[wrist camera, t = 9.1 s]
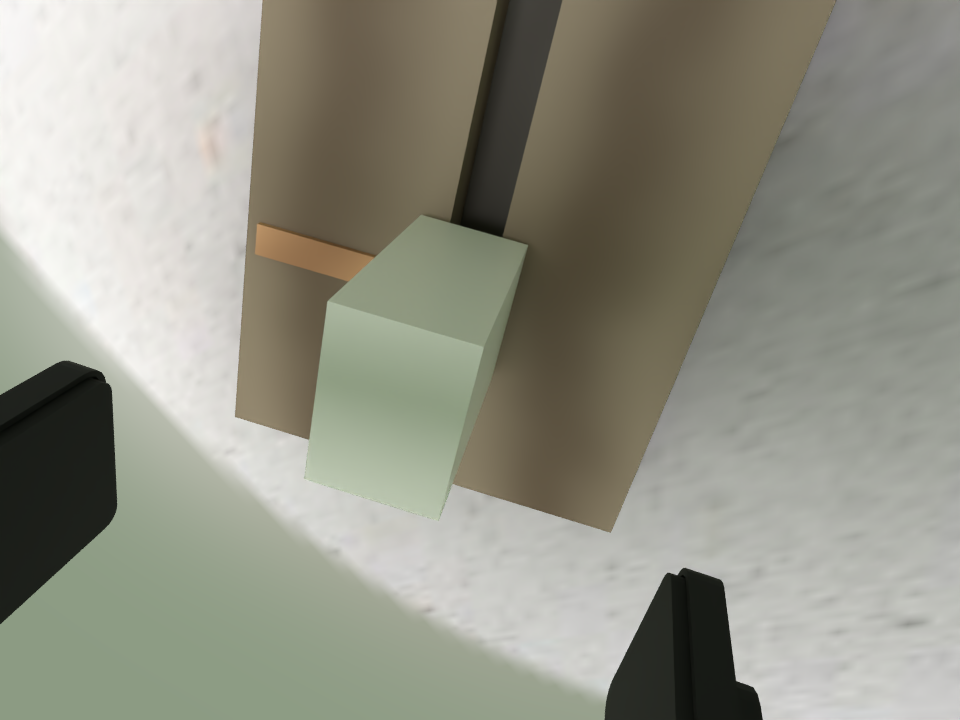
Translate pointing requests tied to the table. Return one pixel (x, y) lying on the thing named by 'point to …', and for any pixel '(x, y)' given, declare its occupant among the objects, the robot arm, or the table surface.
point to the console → (518, 200)
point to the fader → (410, 364)
